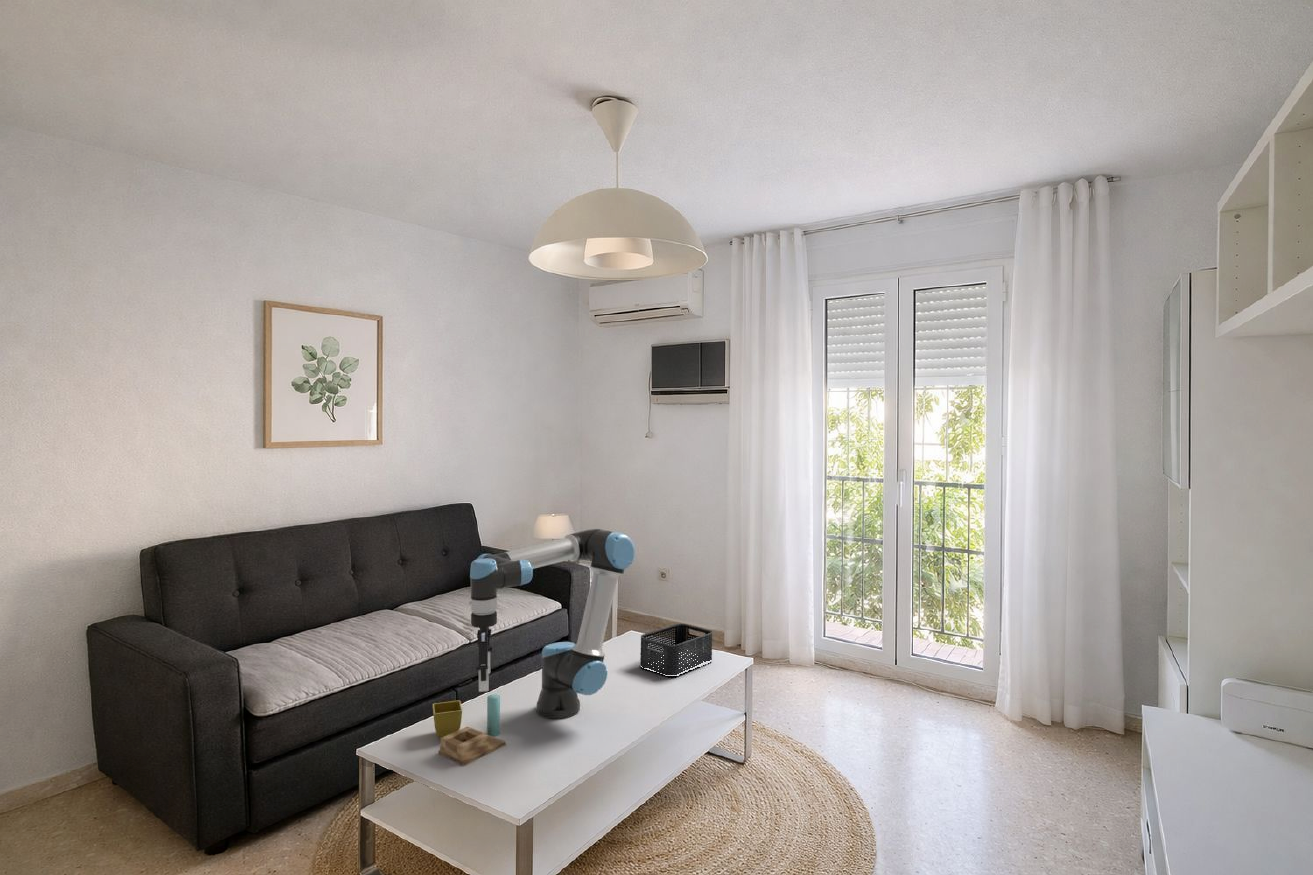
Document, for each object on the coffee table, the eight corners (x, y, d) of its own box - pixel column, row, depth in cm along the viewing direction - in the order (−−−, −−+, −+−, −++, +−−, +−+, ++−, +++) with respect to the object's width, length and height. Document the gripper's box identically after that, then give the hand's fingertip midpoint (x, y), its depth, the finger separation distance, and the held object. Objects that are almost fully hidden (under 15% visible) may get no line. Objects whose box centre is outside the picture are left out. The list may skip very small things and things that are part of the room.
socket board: (479, 734, 220) (480, 718, 220) (505, 744, 214) (505, 728, 213) (438, 753, 207) (438, 737, 207) (464, 765, 200) (464, 748, 200)
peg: (493, 729, 224) (494, 693, 224) (502, 732, 222) (502, 696, 221) (484, 734, 221) (484, 697, 220) (492, 737, 218) (493, 700, 218)
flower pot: (432, 730, 223) (432, 703, 223) (460, 726, 226) (460, 699, 226) (433, 742, 215) (433, 713, 214) (462, 738, 218) (462, 710, 218)
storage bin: (680, 651, 304) (680, 621, 304) (715, 661, 291) (715, 630, 291) (636, 668, 283) (636, 635, 282) (672, 680, 270) (673, 646, 270)
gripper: (473, 601, 216) (474, 667, 217) (468, 625, 191) (469, 699, 192) (497, 599, 217) (498, 665, 218) (495, 623, 193) (496, 697, 194)
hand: (484, 681), depth 205 cm, fingers open, 13 cm apart
